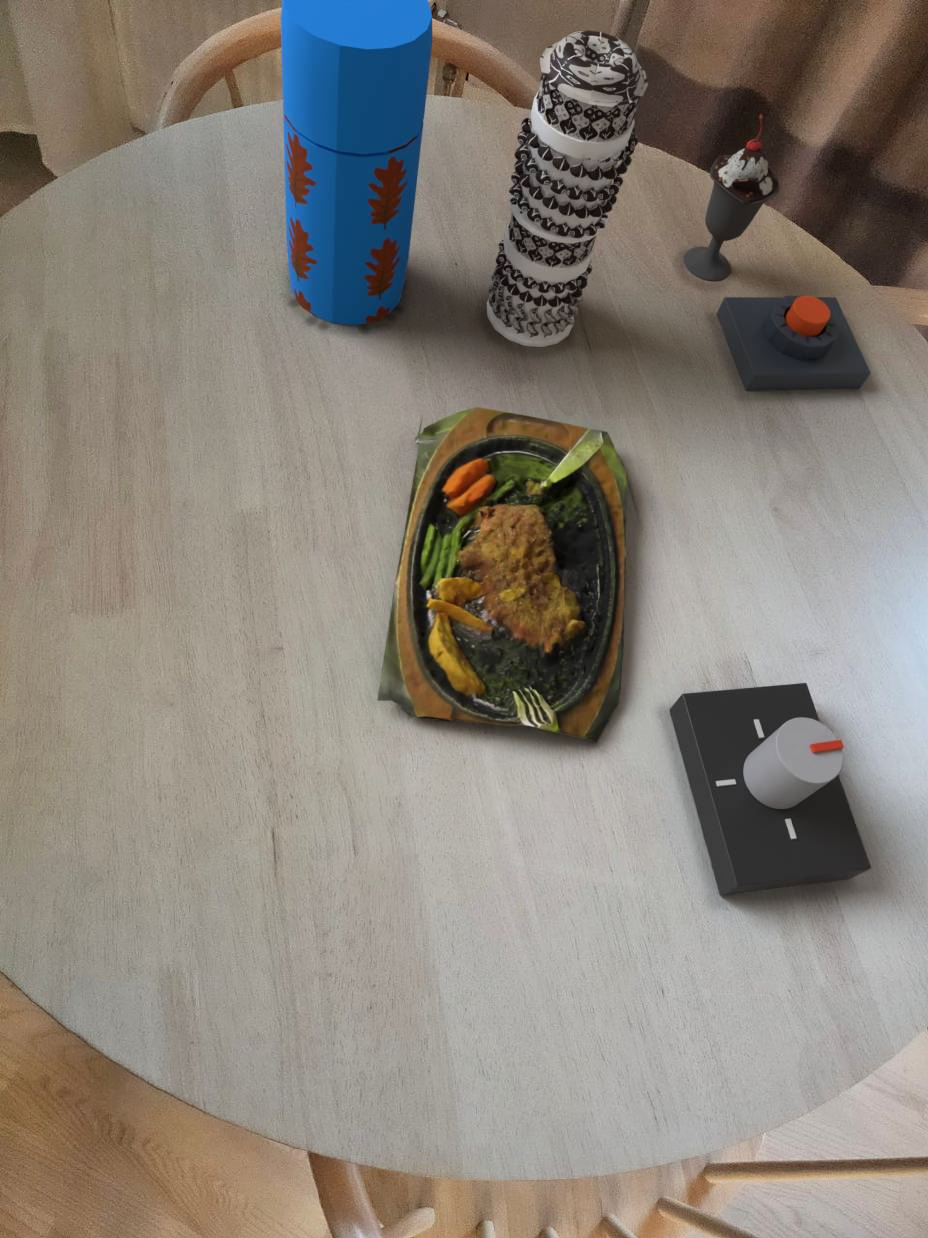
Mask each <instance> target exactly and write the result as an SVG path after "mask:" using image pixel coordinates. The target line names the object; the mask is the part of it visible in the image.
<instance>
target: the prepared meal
mask: <svg viewBox="0 0 928 1238" xmlns="http://www.w3.org/2000/svg"><path fill="white" fill-rule="evenodd" d="M423 417H424V415H422V417H421V420H420V423H419V428H418V432H417V435H416V436H415V440H414V441H415V442H414V445H417V453H416V461H415V467H414V473H413V479H412V484H411V491H410V494H409V502H408V507H407V512H406V513H407V514H406V521H405V526H404V532H403V538H402V543H401V549H400V554H399V560H398V565H397V570H396V576H395V579H394V580H395V581H394V587H393V594H392V599H391V600H392V601H391V607H390V612H389V620H388V627H387V634H386V641H385V645H384V646H385V647H384V653H383V660H382V661H383V662H382V665H381V666H382V667H381V674H380V678H379V679H380V681H379V687H378V692H377V693H378V694H377V702H379V701H380V702H385V701H386V702H391V701H392V702H394V703H396V704H397V705H399V706H400V707H401V709H403V711H404V712H405V713H406V715H407V717H410V718H417V719H426V720H434V721H441V722H449V723H450V722H452V723H453V722H455V721H457V722H460V723H477V724H491V725H497V726H500V727H501V726H502V727H518V726H528V727H532V728H535V729H540V730H543V731H548V732H552V733H555V734H556V733H557V734H560V735H563V736H568V737H572V738H578V739H583V740H585V741H588V742H592V743H595V744H597V743H598V741H599V739H600V738H601V736H602V734H603V733H604V731H605V729H606V728H607V726H608V724H609V722H610V720H611V718H612V716H613V714H614V713H615V711H616V709H617V708H618V705H619V704H620V701H621V688H622V677H623V664H624V653H625V649H624V648H625V625H626V624H625V622H626V621H625V620H626V593H627V592H626V591H627V590H626V589H627V586H626V585H627V583H626V581H627V579H626V578H627V521H628V512H627V511H628V496H627V495H628V494H627V493H628V491H627V490H628V489H627V488H628V487H627V481H628V480H627V470H626V468H625V466H624V464H623V462H622V460H621V458H620V455H619V453H618V451H617V449H616V448H615V444H614V442H613V441H612V439H611V436H610V434H609V432H608V431H604V430H600V429H594V428H589V427H584V426H579V425H575V424H570V423H565V422H561V421H556V420H552V419H551V420H550V419H545V418H541V417H535V416H532V415H527V414H526V415H525V414H520V413H514V412H508V411H502V410H497V409H491V408H485V407H478V406H474V407H471V408H468V409H466V410H462V411H459V412H456V413H452V414H451V415H448V416H446V417H444V418H441V419H440V420H437V421H435V422H433V423H431V424H430V425H427V426H426V427H424V428H423V430H422V424H423ZM421 430H422V432H421Z"/></svg>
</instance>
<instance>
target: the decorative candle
mask: <svg viewBox="0 0 928 1238" xmlns="http://www.w3.org/2000/svg"><path fill="white" fill-rule="evenodd" d="M539 64H540V65H539V66H540V71H541V73H542V74H541V76H540V81H539V88H538V89H539V90H538V91H537V92H536V94H535V96H534V98H533V101H532V106H531V111H530V117H526V118H524V119H522V120H521V124H520V125H521V126H520V128H521V130H522V131H520V132H519V133H518V134H517V137H516V138H517V142H518V144H519V145H520V146H519V147H517V148H516V149H515V151H514V154H513V155H514V157H515V159H516V161H515V162H514V167H513V168H514V172H513V173H512V174H511V176H510V180H511V182H512V183H513V185H512V186H511V187H510V188H509V190H508V194H509V197H508V198H509V199H508V200H509V210H510V212H511V214H510V220H509V222H508V223H507V225H506V227H505V231H504V235H503V239H502V240H501V241H499V243H498V247H497V248H498V250H499V252H498V253H497V256H496V257H495V264H497V265H496V266H495V268H494V270H493V271H492V274H491V277H490V278H491V284H490V285H489V288H488V294H489V295H488V299H487V301H486V314H487V315H486V316H487V319H488V321H489V322H490V324H491V326H492V327H493V329H494V330H495V331H496V332H497V333H499V334H500V335H501V336H503V337H504V338H505V339H507V340H508V341H511V342H513V343H516V344H518V345H521V346H524V347H533V348H534V347H535V348H544V347H549V346H553V345H558V344H559V343H560V342H562V341H563V340H564V339H566V338H567V337H569V335H570V333H571V330H572V328H573V327H574V323H575V319H574V316H577V315H579V307H578V306H577V305H578V304H580V303H582V302H583V300H584V298H583V293H584V291H583V289H585V288H586V287H587V286H588V276H589V275H590V274H591V273H592V271H593V266H592V265H591V263H592V258H593V254H594V251H595V248H596V247H595V241H596V238H597V236H598V235H599V234H601V233H602V232H603V230H604V229H605V228H606V224H607V221H608V218H609V214H608V213H609V212H611V211H613V206H614V205H615V204H616V203H617V201H618V197H617V194H618V193H619V192H620V187H621V186H623V183H624V178H623V177H622V176H621V175H624V174H626V173H627V172H628V167H629V166H630V165H631V164H632V161H633V158H632V155H633V154H634V153H635V150H636V149H635V147H636V146H637V145H639V144H638V143H639V138H638V136H637V135H636V128H635V122H636V121H635V116H636V112H637V109H638V106H639V103H640V99H641V98H642V97H643V96H644V94H645V92H646V90H647V87H648V86H649V83H648V78H647V73H646V71H645V69H644V68H643V67H642V66H641V65H640V63H639V62H638V58H637V55H636V53H635V52H634V51H633V50H632V49H631V48H630V46H629V45H628V44H627V43H626V42H625V41H623V40H621V39H620V38H618V37H616V36H615V35H612V34H609V33H606V32H603V31H597V30H596V31H595V30H588V29H587V30H581V31H580V30H579V31H575V32H572V33H570V34H568V35H566V36H564V37H562V39H561V40H559V41H557V42H554V43H553V44H551V45H549V46H547V47H546V48H545V49H544V51H543V52H542V54H541V56H540V57H539ZM619 161H621V162H619Z"/></svg>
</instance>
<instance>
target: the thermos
mask: <svg viewBox="0 0 928 1238" xmlns="http://www.w3.org/2000/svg"><path fill="white" fill-rule="evenodd" d="M281 1H282V2H281V11H280V37H281V39H280V44H281V77H282V79H281V80H282V115H283V117H282V118H283V119H282V120H283V152H284V153H283V155H284V194H285V195H284V197H285V227H286V228H285V230H286V231H285V233H286V250H287V260H288V271H289V282H290V291H291V293H292V295H293V297H294V298H295V299H296V301H297V302H298V305H299V306H300V307H302V308H303V309H305V310H306V311H307V312H309V313H310V314H311V315H312V316H314V317H316V318H319V319H321V320H324V321H327V322H329V323H331V324H339V325H340V324H341V325H347V326H348V325H349V326H356V325H363V324H370V323H374V322H376V321H377V320H380V319H382V318H384V317H386V316H388V315H389V314H391V312H392V311H393V310H394V309H395V308H396V307H397V306H398V305H399V303H400V300H401V297H402V294H403V290H404V285H405V280H406V274H407V269H408V264H409V258H410V249H411V248H410V247H411V240H412V239H411V238H412V229H413V221H414V212H415V202H416V196H417V195H416V194H417V183H418V176H419V175H418V174H419V166H420V157H421V147H422V139H423V131H424V119H425V112H426V103H427V94H428V85H429V77H430V76H429V75H430V66H431V57H432V49H433V15H432V14H433V13H432V10H431V6H430V1H429V0H281Z"/></svg>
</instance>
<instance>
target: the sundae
mask: <svg viewBox="0 0 928 1238" xmlns="http://www.w3.org/2000/svg"><path fill="white" fill-rule="evenodd" d="M763 118H764V115H763V113H760V114H759V116H758V119H759V123H760V128H759V132H758V134H757V136H756V137H755V138H752V139H750V140H748V141H747V142H746V145H745V147H744V148H742V149H741V148H740V149H739V150H737V151H736V152H735V153H734V154H723V155H719V156H718V157H716V159H715V160H714V162H713V163H712V165H711V167H710V171H709V177H710V179H711V180H712V181H713V186H712V190H711V194H710V198H709V201H708V205H707V208H706V214H705V219H704V222H705V223H704V224H705V227H706V228H707V231H708V232H709V234H710V235H711V237H712V238H711V239H710V242H709V244H708V245H707V246H694V247H692V248H690V249H688V250H686V252H685V253H684V255H683V264H684V266H685V268H686V270H688V271H689V273H691V274H692V275H693V276H694V277H696V278H699V279H701V280H704V281H708V282H719V281H722V280H725V279H726V278H727V277H728V276H729V275H730V273H731V264H730V262H729V260H728V258H727V257H726V256H725V255H723V253H721V251H720V250H721V248H722V246H723V244H724V242H727V241H732V240H735V239H737V238H739V237H740V236H742V235H743V233H744V232H745V231H746V229H747V228H748V227H749V226H750V225H751V223H752V222H753V220H754V218H755V217H756V216H757V214H758V212H759V211H760V209H761V207H762V206H763V205H764V203H766V201H769V200H771V199H773V198H775V197H777V195H778V194H779V193H780V181H779V178H778V176H777V174H776V172H775V171H774V169H773V168H772V167H771V166H770V165H769V162H768V157H767V155H766V153H765V152H764V151H763V150H762V147H763V144H762V141H761V139H762V136H763V132H764V131H763V130H764V125H763Z"/></svg>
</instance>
